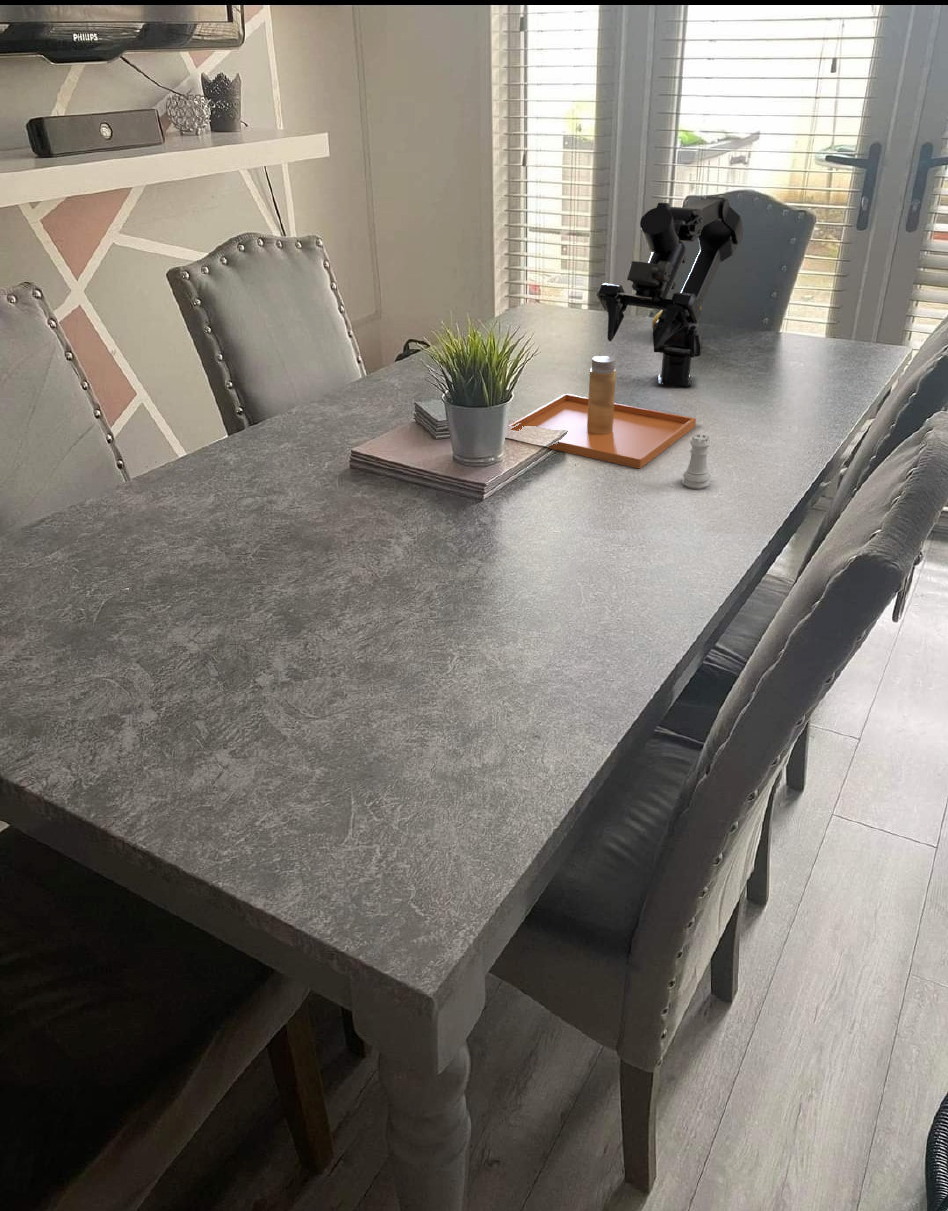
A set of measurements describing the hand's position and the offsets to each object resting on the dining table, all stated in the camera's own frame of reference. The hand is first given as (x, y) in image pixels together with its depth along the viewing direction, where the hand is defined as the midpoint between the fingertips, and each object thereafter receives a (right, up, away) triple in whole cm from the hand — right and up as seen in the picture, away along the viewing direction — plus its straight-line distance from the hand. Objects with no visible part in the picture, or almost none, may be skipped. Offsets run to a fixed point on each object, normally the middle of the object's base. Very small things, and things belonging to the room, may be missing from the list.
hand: (631, 343), depth 174 cm
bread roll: (+18, +19, +50) cm, 56 cm away
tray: (-6, -16, 0) cm, 17 cm away
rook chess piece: (+7, -28, -21) cm, 36 cm away
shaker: (-6, -16, -1) cm, 17 cm away
